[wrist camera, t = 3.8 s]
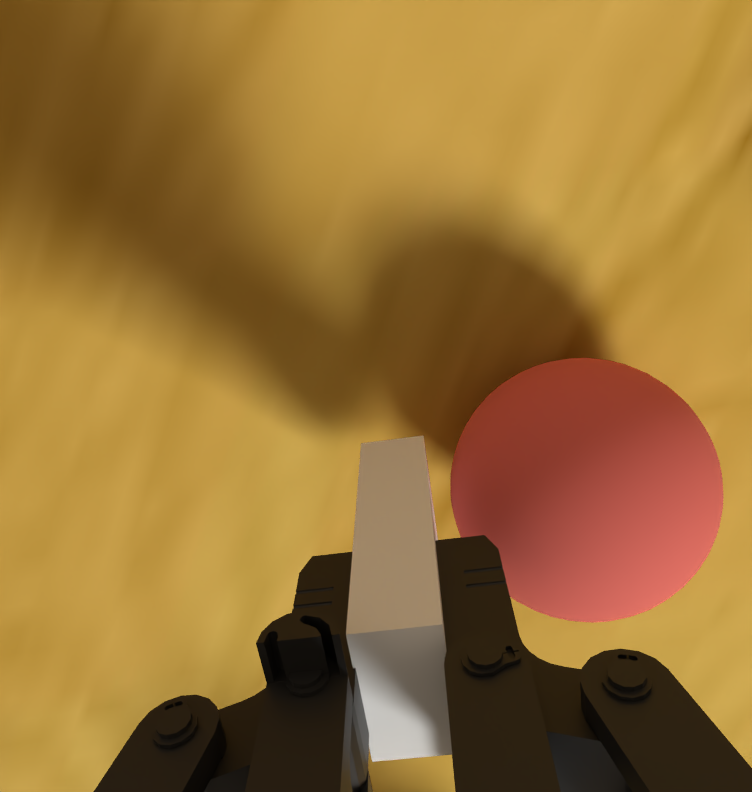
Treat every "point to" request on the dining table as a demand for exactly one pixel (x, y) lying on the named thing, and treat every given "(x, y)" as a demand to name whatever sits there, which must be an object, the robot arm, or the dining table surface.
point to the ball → (589, 488)
